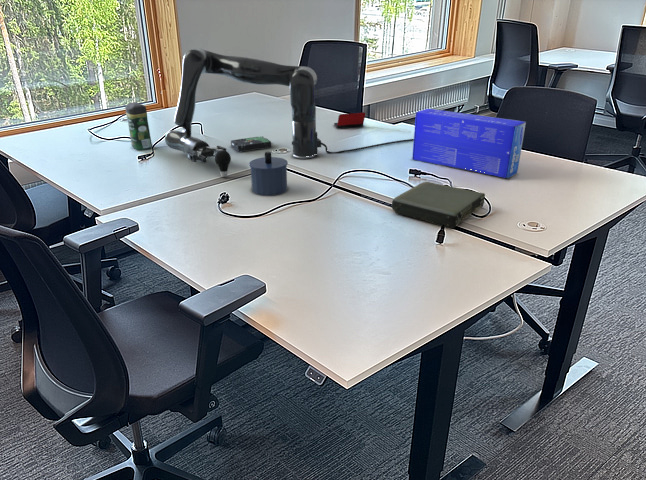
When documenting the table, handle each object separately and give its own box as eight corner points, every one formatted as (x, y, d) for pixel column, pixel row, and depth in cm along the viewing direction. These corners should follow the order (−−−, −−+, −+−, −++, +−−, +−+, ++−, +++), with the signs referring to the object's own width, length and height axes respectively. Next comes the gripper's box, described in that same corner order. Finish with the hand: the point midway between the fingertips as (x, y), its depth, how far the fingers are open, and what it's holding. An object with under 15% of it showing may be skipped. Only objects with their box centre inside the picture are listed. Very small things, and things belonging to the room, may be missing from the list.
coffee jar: (129, 146, 254) (122, 102, 244) (146, 143, 257) (140, 100, 248) (136, 151, 246) (129, 106, 237) (154, 148, 250) (147, 103, 240)
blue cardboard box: (517, 174, 207) (527, 121, 198) (507, 180, 202) (516, 126, 193) (423, 154, 230) (427, 106, 221) (411, 159, 225) (415, 111, 216)
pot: (282, 182, 207) (281, 157, 203) (290, 193, 197) (290, 167, 193) (249, 185, 205) (247, 160, 200) (256, 197, 195) (254, 171, 190)
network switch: (462, 232, 166) (465, 215, 163) (386, 217, 177) (387, 201, 174) (486, 205, 183) (488, 190, 180) (415, 193, 194) (416, 178, 191)
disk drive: (238, 153, 241) (271, 147, 245) (238, 146, 239) (271, 140, 244) (230, 146, 249) (262, 141, 254) (230, 140, 247) (262, 135, 252)
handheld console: (359, 123, 277) (359, 107, 273) (365, 128, 267) (366, 112, 264) (333, 125, 275) (333, 109, 271) (338, 130, 266) (339, 114, 262)
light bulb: (234, 175, 215) (232, 148, 210) (228, 180, 210) (226, 153, 205) (220, 174, 217) (218, 147, 212) (213, 179, 212) (211, 152, 207)
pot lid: (282, 158, 203) (282, 145, 201) (291, 169, 193) (291, 155, 190) (246, 162, 201) (245, 149, 199) (253, 173, 190) (252, 159, 188)
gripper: (178, 142, 221) (197, 151, 209) (211, 135, 228) (232, 144, 216) (180, 161, 225) (199, 171, 213) (213, 154, 232) (233, 164, 220)
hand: (216, 158), depth 215 cm, fingers open, 8 cm apart
